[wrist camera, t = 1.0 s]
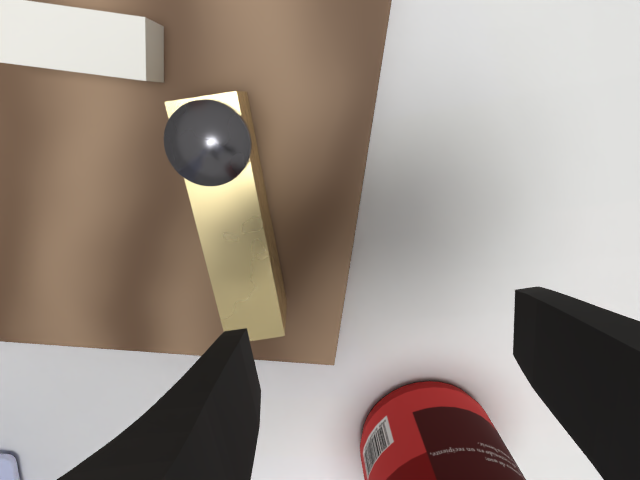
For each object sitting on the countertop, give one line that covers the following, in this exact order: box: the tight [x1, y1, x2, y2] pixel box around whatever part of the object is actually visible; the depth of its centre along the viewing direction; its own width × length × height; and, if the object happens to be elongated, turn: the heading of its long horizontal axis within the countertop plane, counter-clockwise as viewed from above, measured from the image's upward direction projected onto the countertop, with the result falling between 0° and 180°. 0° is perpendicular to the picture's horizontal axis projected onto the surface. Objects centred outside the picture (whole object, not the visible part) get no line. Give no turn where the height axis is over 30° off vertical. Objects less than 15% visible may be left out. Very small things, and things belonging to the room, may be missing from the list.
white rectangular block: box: [0, 0, 164, 83], centre depth 15 cm, size 5×2×2 cm, turn 83°
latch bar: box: [164, 91, 287, 341], centre depth 16 cm, size 10×3×4 cm, turn 8°
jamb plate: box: [0, 0, 392, 365], centre depth 18 cm, size 18×19×1 cm
